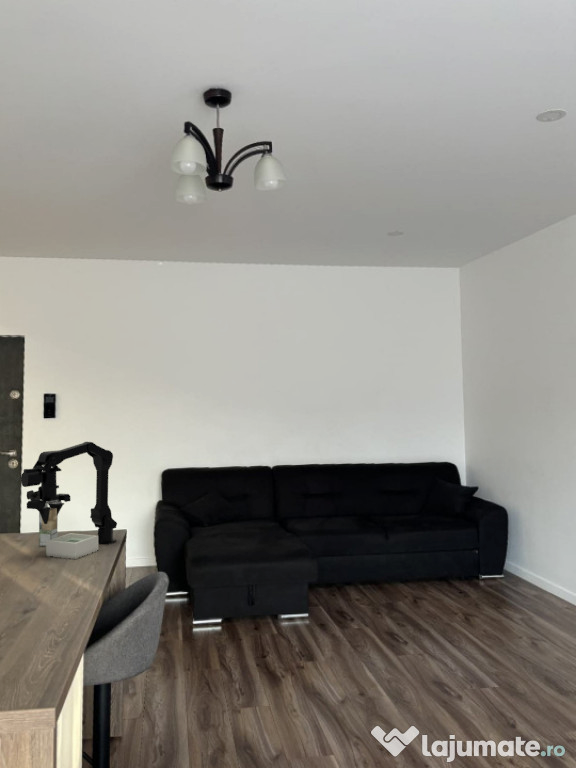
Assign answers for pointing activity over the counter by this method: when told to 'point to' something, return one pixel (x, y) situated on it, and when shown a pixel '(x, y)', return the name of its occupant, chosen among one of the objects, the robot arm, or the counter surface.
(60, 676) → the counter surface
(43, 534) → the syrup box
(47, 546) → the open box
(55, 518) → the maple peg
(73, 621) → the counter surface
